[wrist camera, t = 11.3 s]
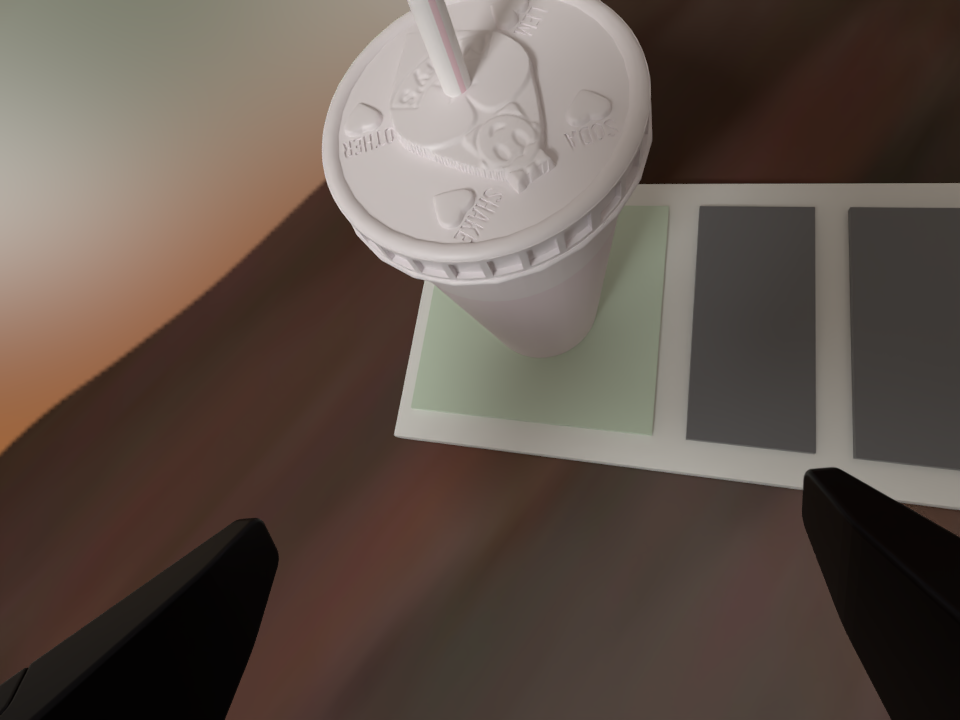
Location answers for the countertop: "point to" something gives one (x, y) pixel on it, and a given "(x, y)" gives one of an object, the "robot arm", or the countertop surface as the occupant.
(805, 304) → the board
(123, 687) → the robot arm
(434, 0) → the smoothie
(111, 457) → the countertop surface
